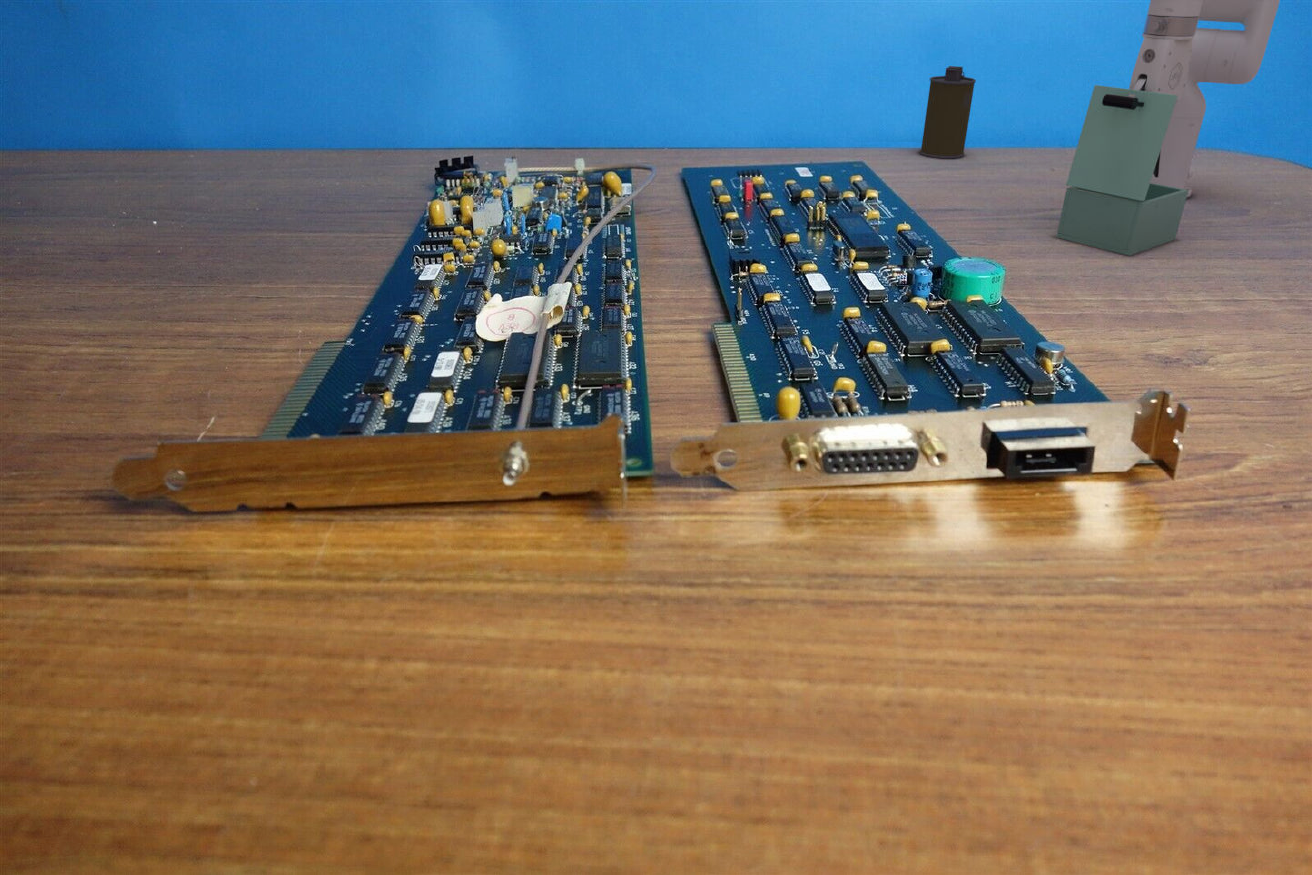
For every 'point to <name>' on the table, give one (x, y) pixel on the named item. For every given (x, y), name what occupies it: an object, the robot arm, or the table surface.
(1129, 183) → the cool box lid
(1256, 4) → the robot arm
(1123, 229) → the cool box
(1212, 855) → the table surface
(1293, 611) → the table surface
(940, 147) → the canister
